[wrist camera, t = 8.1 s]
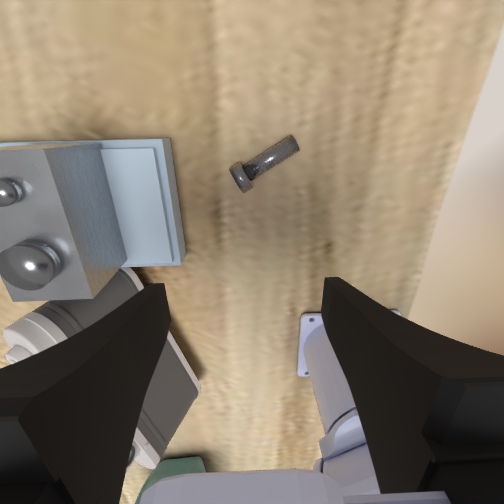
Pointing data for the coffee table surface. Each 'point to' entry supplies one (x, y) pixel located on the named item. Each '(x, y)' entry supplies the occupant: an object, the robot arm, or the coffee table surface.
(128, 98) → the coffee table surface
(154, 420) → the camera
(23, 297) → the block
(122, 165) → the stand
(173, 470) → the flower pot
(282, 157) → the bolt
